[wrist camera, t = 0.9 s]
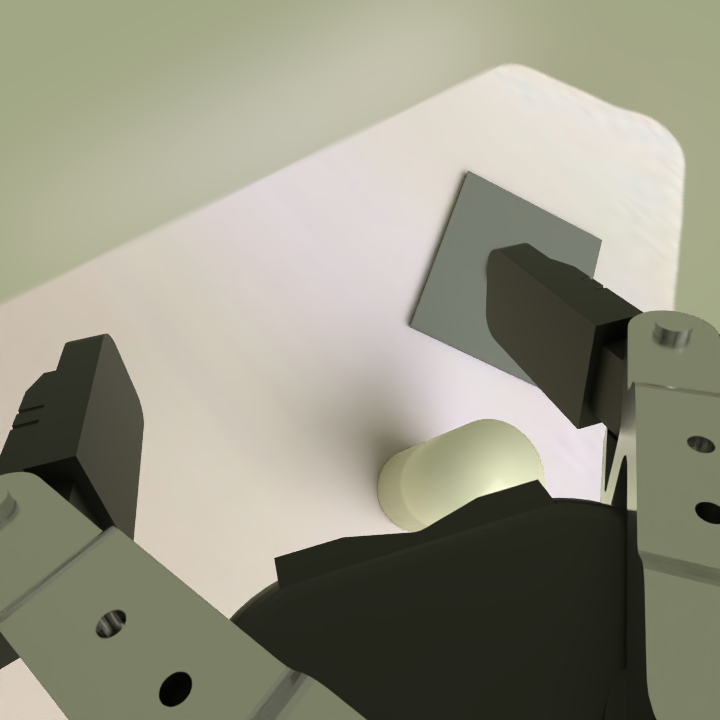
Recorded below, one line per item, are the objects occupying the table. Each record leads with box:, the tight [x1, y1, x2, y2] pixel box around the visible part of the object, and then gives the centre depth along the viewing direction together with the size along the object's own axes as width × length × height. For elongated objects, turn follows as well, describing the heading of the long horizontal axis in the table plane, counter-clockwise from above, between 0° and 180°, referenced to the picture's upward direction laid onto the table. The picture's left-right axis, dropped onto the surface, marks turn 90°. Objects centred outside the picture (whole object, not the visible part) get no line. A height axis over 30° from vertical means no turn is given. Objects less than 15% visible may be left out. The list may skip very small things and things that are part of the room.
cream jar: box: [377, 419, 545, 532], centre depth 29 cm, size 5×5×10 cm
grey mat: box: [410, 171, 602, 387], centre depth 40 cm, size 12×14×1 cm
